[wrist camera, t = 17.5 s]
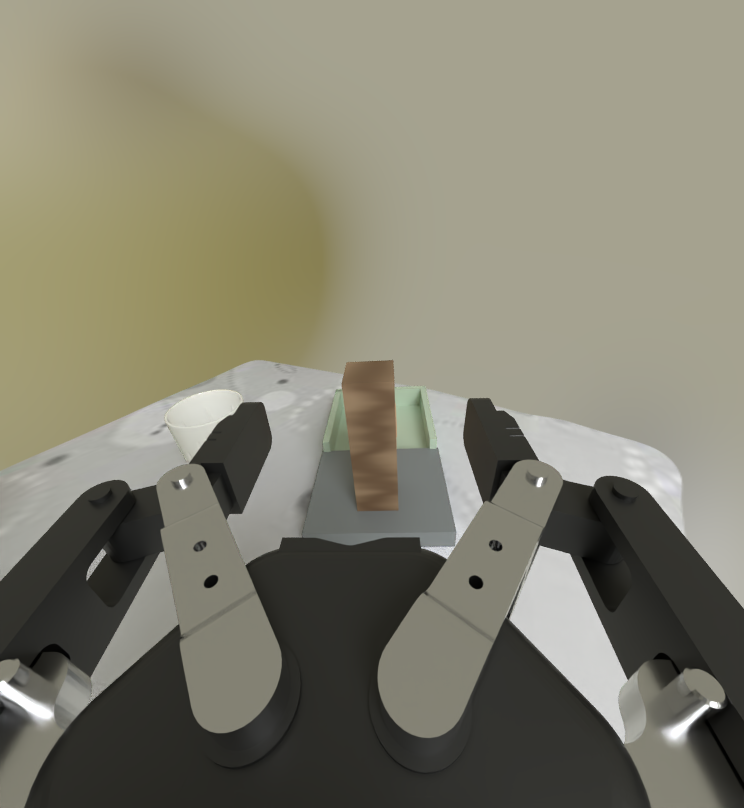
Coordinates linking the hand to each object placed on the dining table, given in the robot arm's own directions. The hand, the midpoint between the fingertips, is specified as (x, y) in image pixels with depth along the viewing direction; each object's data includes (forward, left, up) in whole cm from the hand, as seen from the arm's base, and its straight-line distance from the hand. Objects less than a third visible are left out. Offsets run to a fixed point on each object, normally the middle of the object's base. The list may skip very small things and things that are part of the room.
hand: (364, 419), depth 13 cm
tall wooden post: (-3, +13, -18) cm, 23 cm away
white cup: (-22, +15, -20) cm, 34 cm away
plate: (-3, +14, -20) cm, 25 cm away
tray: (-5, +26, -20) cm, 34 cm away
